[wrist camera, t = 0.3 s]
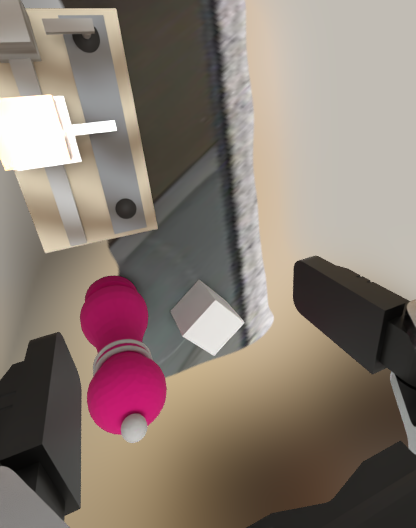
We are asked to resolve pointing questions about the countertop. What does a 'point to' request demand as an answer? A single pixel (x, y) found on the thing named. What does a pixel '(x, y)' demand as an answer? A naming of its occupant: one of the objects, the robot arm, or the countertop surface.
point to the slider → (41, 132)
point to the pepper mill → (121, 360)
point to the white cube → (206, 318)
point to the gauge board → (80, 111)
